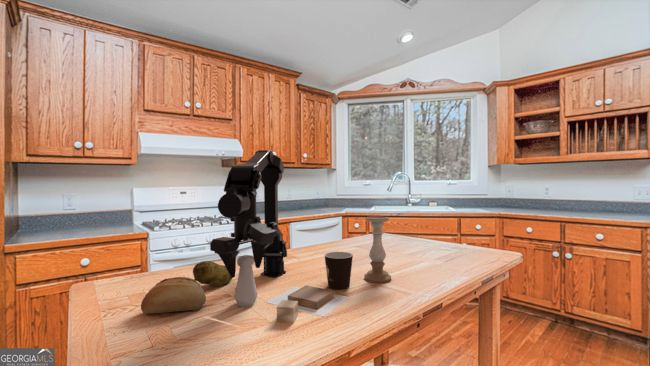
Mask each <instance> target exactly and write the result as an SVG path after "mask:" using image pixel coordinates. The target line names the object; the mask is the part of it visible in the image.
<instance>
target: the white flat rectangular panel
mask: <svg viewBox="0 0 650 366" xmlns="http://www.w3.org/2000/svg"><path fill="white" fill-rule="evenodd" d="M301 288H302V287H300V286H293V287H292V288H290V289H289V290H286V291H285V292H283V293H281V294H279V295H277V296H275V297H273V298H271V299H269V300H267V301H265V302H264V303H266V304H269V305H273V306H276V307H277V306H278V304H279V303H280V302H281V301H282V300H288V295H290V294H291V293H293V292H295V291H297V290H299V289H301ZM349 298H350V297H349V296H345V295H340V294H335V293H334V298H333V299H331V300H330V301H329V302H327V303H326V304H324V305H323V306H322V307H320V308H319V309H317V310H316V309H311V308H307V307H303V306H298V312H299V311H300V312H302V313H307V314H311V315H314V316H315V315H316V316H319V317H326V316H327V315H328V314H330V313H331V312H332V311H334V310H335V309H336V308H337V307H338V306H340V305H341V304H342V303H344V302H345V301H346V300H348V299H349Z"/></svg>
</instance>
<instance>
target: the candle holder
mask: <svg viewBox="0 0 650 366" xmlns="http://www.w3.org/2000/svg"><path fill="white" fill-rule="evenodd" d="M365 221H366V222H368V223H369V222H370V225H371V226H372V231H371V234H372V246H371V247H370V250H369V255H368V256H369V259H370V260H371V262H370V263H369V265H371V267H372V268H371V270H368V271H367V272H366V273H365V274H364V277H363V278H364V280H366V281H367V282H370V283H375V284H376V283H379V284H382V283H389V282H390V281H391V280H392V276H391V274H389V272H387V271H386V270H384V266H385V264H386V262H384V261H385V259H386V257H387V253H386V250H385V248H384V246H383V240H382V235H384V232H383V231H382V229H383V226H384V225H385V223H386V222H389V221H390V219H389V217H387V216H376V215H375V216H367V217H365Z"/></svg>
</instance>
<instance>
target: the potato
mask: <svg viewBox="0 0 650 366" xmlns="http://www.w3.org/2000/svg"><path fill="white" fill-rule="evenodd" d="M192 274H193V278H194V280H195V281H197V282H198V283H199V284H200V285H210V286H215V287H218V286H223V285H225V284H228V283H229V282H230V281H231V280H233V279H234V277H231V276H230V274H229V272H228V270H227V268H226V266H225V264H224V265H223V264H218V263H216V262H214V261H211V260H204V261H200V262H198V263H196V264H194V267H193V268H192Z"/></svg>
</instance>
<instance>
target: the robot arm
mask: <svg viewBox="0 0 650 366" xmlns="http://www.w3.org/2000/svg"><path fill="white" fill-rule="evenodd" d="M284 166H285V165H284V162H283V161H282V159H281V158H280V157H279V156H277V155H276V154H274V153H273V151H272V150H270V149H265V150H262V149H261V150H259V149H258V150H256V151H255V152H254V154H253V155H252V156H251V157H250V158H249V159H248V160H247V161H246V162H244V163H237V164H235V165H232V167H231V168H230V169H229V171H228V174H227V177H226V181H225V184H224V188H223V192H225V193H224V194H223V195H222V196H220V198H219V201H218V203H217V209H218V211H219V213H220V215H222V216H223V217H224V218H228V219H230V222H233V223H234V224H233V232H230V237H228V236H221V237H216V238H213V239H212V240H211V241H210V244H209V247H210V248H209V250H210V252H214V253H215V254H218V257H219V258H220V260H221V261H222V262H223V264H224V266H226V268H227V270H228V272H229V274H230V276H231V277H233V278H235V277H236V273H237V272H236V267H237V265H236V264H237V256H238V255H239V254H240V252H241V251H240V250H238V249H239V248H240V246H241V245H244V244H248V243H250V244H251V245H250V246H251V249H252V256H253V257H254V265H255V269H260V267H261V265H262V262H263V272H261V273H260V275H261V276H267V277H273V278H277V277H279V276H281V275H283V274H286V273H287V271H286V270H285V260H284V258H286V257H288V250H287V245H286V243H285V240H284V234H283V233H282V231H281V229H280V227H279V200H278V199H279V196H278V195H279V193H278V192H279V191H278V190H279V189H278V186H279V184H280V182H281V181H282V179H283V174H284V170H285V167H284ZM261 183H262V185H263V191H264V193H263V194H264V195H263V199H264V200H263V201H264V202H263V203H264V204H263V205H264V207H263V208H264V210H263V211H264V223H262V222H261V216H257V195H258V192H257V189H259V187H260V184H261Z"/></svg>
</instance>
